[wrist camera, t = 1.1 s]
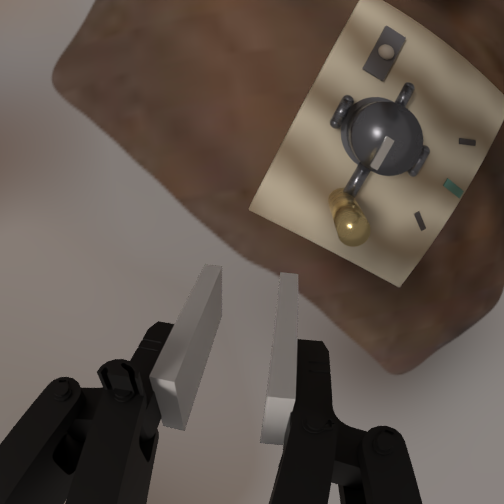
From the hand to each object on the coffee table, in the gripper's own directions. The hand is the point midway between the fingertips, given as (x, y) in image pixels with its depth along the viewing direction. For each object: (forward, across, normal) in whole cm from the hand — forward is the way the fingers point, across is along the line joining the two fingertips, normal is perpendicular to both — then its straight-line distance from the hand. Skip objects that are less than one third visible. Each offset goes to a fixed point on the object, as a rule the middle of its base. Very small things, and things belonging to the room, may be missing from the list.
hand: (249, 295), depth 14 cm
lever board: (+19, +11, +6) cm, 22 cm away
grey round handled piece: (+16, +8, +5) cm, 19 cm away
